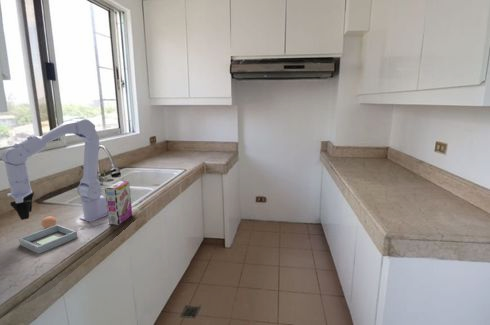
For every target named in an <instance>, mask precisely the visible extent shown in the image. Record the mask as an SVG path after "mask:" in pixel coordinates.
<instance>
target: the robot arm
mask: <svg viewBox="0 0 490 325" xmlns="http://www.w3.org/2000/svg"><path fill="white" fill-rule="evenodd" d="M68 134H69V135H71V134H73V135H76V136H78V137H79V138H80V139H81V140H83V141H84V151H83V152H84V155H83V168H82V169H83V170H82V177H81V179H80V181H79V185H78V187H77V189H76V190H77V195H79V196H80V197H81V198H80V200H81V205H82V206H81V207H82V212H83V216H81V217H79V219H80V220H83V221H86V222H94V221H95V220H99V219H101V218H103V217H106V216H107V217H108V211H107V203H106V196H104V195H102V194H103V189H102V186H101V181H100V180H99V179H98V167H99V150H100V148H99V146H100V137H99V134H98V133H97V130H96V125H95V124H94V123H93V122H92V121H91V120H89V119H86V118H83V119H81V118H80V119H77V118H71V119H70V120H68V121H65V122H63V123H61V124H59V125H58V126H56V127H54V128H52V129H51V130H49V131H48V132H45V133H44V134H42V135H41V136H38V135H33V136H32V135H29V136H26V139H25V140H24V141H23V140H22V142H19V143H14V144H13V147H7V148H5V149H3V150H2V152H1V154H0V155H1V156H0V159H1V161H2V162H4V165H5V171H6V176H7V179H8V185H9V189H10V193H7V194H6V195H7V197H12V198H13V199H14V201H11V202H10V206H11V207H12V209H14V210H15V211H16V212H17V215H18V217H19V218H20V220H21V221H22V220H28V219H29V217H30V213H31V212H32V209H33V208H32V207H33V197H34V195H35V192H34V191H33V189H32V187H31V182H30V181H31V180H30V178H29V177H30V176H29V172H28V167H27V160H28V159H29V158H31V157H33V156H34V155H36V154H38V153H40V152H41V151H43V150H45V149H46V148H47V144H49V143H51V142H53V141H54V140H57V139H59V138H61V137H64V136H65V135H68Z"/></svg>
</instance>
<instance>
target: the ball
mask: <svg viewBox="0 0 490 325" xmlns="http://www.w3.org/2000/svg"><path fill="white" fill-rule="evenodd" d="M55 225H57V219H56V217H54V216H51V215H50V216H46V217H44V218H43V219H42V220H41V226H42V227H43V229H47V228H49V227H52V226H55Z"/></svg>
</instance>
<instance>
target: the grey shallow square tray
mask: <svg viewBox="0 0 490 325" xmlns="http://www.w3.org/2000/svg"><path fill="white" fill-rule="evenodd" d="M57 232H59V233H62V234H64V235H62V236H57V235H55V234H54V235H52V234H53V233H57ZM49 235H51V236H49ZM45 236H48V237H47V238H43V237H45ZM41 238H43V239H41ZM77 238H78V232H77V231H76V230H74V229H71V228H68V227H67V226H62V225H60V224H56V225H55V226H52V227H49V228H43V229H41V230H39V231H36V232H33V233H31V234H28V235H25V236H22V237H20V238H18V242H19V245H20V246H22V247H24V248H26V249H27V250H30V251H32V252H34V253H35V254H38V255H39V254H41V253H44V252H47V251H49V250H51V249H54V248H56V247H58V246H60V245H63V244H64V243H67V242H70V241H72V240H75V239H77ZM38 239H41V240H38ZM36 240H38V241H36ZM33 241H36V244H35V243H33ZM37 244H39V245H37Z"/></svg>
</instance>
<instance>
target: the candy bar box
mask: <svg viewBox="0 0 490 325" xmlns="http://www.w3.org/2000/svg"><path fill="white" fill-rule="evenodd" d="M104 192H105V193H104V194H105V198H106V203H107V211H108V215H107V219H108V220H107V221H108V225H109V226H120V225H121V224H123V223H124V222H126V220H128V219H129V218H130V217H132V216H133V208H132V199H131V187H130V181H124V180H122V181H121V180H120V181H117V182H116V183H113V184H111V185H109V186H107V187H104Z"/></svg>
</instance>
